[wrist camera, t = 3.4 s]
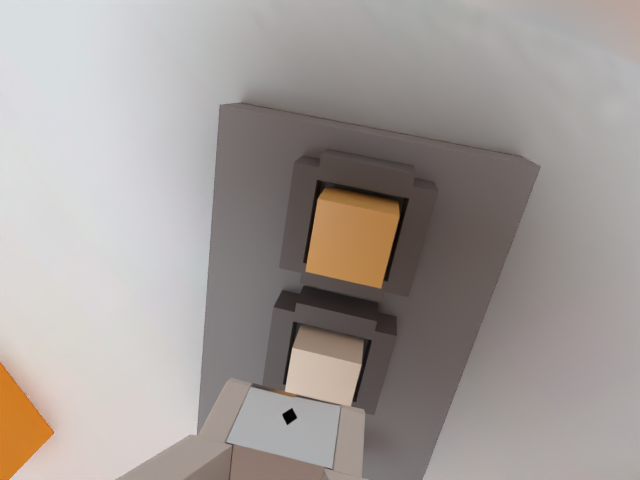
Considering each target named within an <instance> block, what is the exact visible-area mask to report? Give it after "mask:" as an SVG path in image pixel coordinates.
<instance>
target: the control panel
mask: <svg viewBox="0 0 640 480" xmlns="http://www.w3.org/2000/svg"><path fill="white" fill-rule="evenodd" d="M539 170H540V166H539V165H537V164H535V163H533V162H531V161H529V160H527V159H525V158H523V157H521V156H516V155H511V154H506V153H500V152H495V151H490V150H485V149H479V148H474V147H469V146H464V145H458V144H453V143H448V142H443V141H437V140H432V139H427V138H422V137H416V136H411V135H406V134H401V133H395V132H390V131H385V130H380V129H375V128H369V127H364V126H359V125H354V124H348V123H343V122H338V121H333V120H327V119H322V118H317V117H312V116H306V115H301V114H296V113H291V112H285V111H280V110H275V109H270V108H264V107H259V106H254V105H249V104H243V103H234V104H224V105H220V109H219V124H218V138H217V152H216V167H215V181H214V196H213V210H212V224H211V239H210V253H209V268H208V282H207V296H206V311H205V325H204V340H203V354H202V368H201V383H200V397H199V412H198V426H197V436H198V434H199V432H200V430H201V429H202V427H203V425H204V423H205V421H206V419H207V417H208V415H209V414H210V412H211V410H212V408H213V406H214V404H215V402H216V400H217V399H218V397H219V395H220V393H221V391H222V389H223V387H224V386H225V384H226V382H227V381H228V380H229V379H230V378H234V379H238V380H242V381H245V382H249V383H252V384H253V383H255V384H259V385H263V386H266V387H270V388H274V389H278V390H281V391H285V387H286V381H287V375H288V370H289V364H290V358H291V352H292V347H293V344H294V342H295V339H296V336H297V334H298V331H299V328H300V326H301V323H302V324H306V325H310V326H314V327H318V328H323V329H327V330H331V331H335V332H340V333H344V334H348V335H352V336H357V337H361V338H364V345H363V355H362V365H361V369H360V373H359V376H358V380H357V384H356V388H355V392H354V396H353V400H352V404H351V407H356V408H360V409H364V411H365V427H364V445H363V464H362V478H365V479H369V480H422V479H423V477H424V474H425V471H426V469H427V466H428V463H429V461H430V458H431V455H432V453H433V450H434V447H435V445H436V442H437V440H438V437H439V434H440V432H441V429H442V426H443V424H444V421H445V418H446V416H447V413H448V410H449V408H450V405H451V403H452V400H453V397H454V395H455V392H456V389H457V387H458V384H459V381H460V379H461V376H462V373H463V371H464V368H465V365H466V363H467V360H468V358H469V355H470V352H471V350H472V347H473V344H474V342H475V339H476V336H477V334H478V331H479V328H480V326H481V323H482V321H483V318H484V315H485V313H486V310H487V307H488V305H489V302H490V299H491V297H492V294H493V291H494V289H495V286H496V283H497V281H498V278H499V276H500V273H501V270H502V268H503V265H504V262H505V260H506V257H507V254H508V252H509V249H510V246H511V244H512V241H513V239H514V236H515V233H516V231H517V228H518V225H519V223H520V220H521V217H522V215H523V212H524V209H525V207H526V204H527V201H528V199H529V196H530V194H531V191H532V188H533V186H534V183H535V180H536V178H537V175H538V172H539ZM326 186H327V187H332V188H337V189H342V190H347V191H351V192H356V193H361V194H366V195H371V196H376V197H381V198H386V199H390V200H395V201H398V202H399V214H400V216H399V220H398V224H397V228H396V232H395V236H394V240H393V244H392V248H391V252H390V255H389V259H388V263H387V267H386V271H385V275H384V279H383V283H382V287H381V289H380V288H376V287H371V286H367V285H362V284H358V283H354V282H349V281H345V280H340V279H336V278H331V277H327V276H322V275H318V274H314V273H309V272H305V271H306V265H307V259H308V253H309V247H310V242H311V236H312V230H313V224H314V218H315V213H316V207H317V201H318V198H319V196H320V195H321V193H322V191H323V190H324V188H325V187H326Z"/></svg>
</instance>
